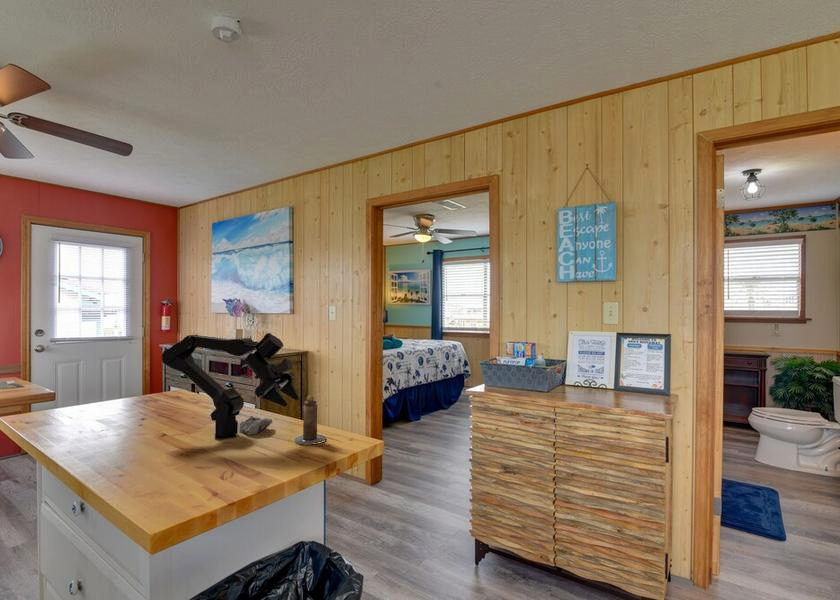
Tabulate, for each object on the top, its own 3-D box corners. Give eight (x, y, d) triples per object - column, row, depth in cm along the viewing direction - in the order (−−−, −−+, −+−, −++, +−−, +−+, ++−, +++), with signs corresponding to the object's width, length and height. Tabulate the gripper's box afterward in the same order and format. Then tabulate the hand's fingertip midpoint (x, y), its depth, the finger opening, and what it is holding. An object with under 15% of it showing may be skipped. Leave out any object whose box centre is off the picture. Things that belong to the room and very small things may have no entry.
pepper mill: (307, 441, 143) (308, 397, 143) (300, 438, 146) (300, 395, 146) (319, 438, 146) (320, 395, 146) (312, 435, 149) (312, 393, 149)
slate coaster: (297, 446, 139) (297, 445, 139) (292, 438, 148) (292, 436, 148) (329, 442, 143) (329, 441, 143) (321, 434, 152) (321, 432, 152)
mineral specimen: (250, 439, 149) (230, 430, 156) (277, 433, 158) (257, 424, 165) (252, 422, 149) (231, 413, 156) (278, 416, 158) (258, 409, 164)
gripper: (264, 354, 138) (297, 391, 137) (289, 348, 157) (319, 381, 155) (240, 378, 139) (273, 415, 138) (268, 370, 158) (297, 402, 156)
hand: (292, 402), depth 147 cm, fingers open, 9 cm apart
